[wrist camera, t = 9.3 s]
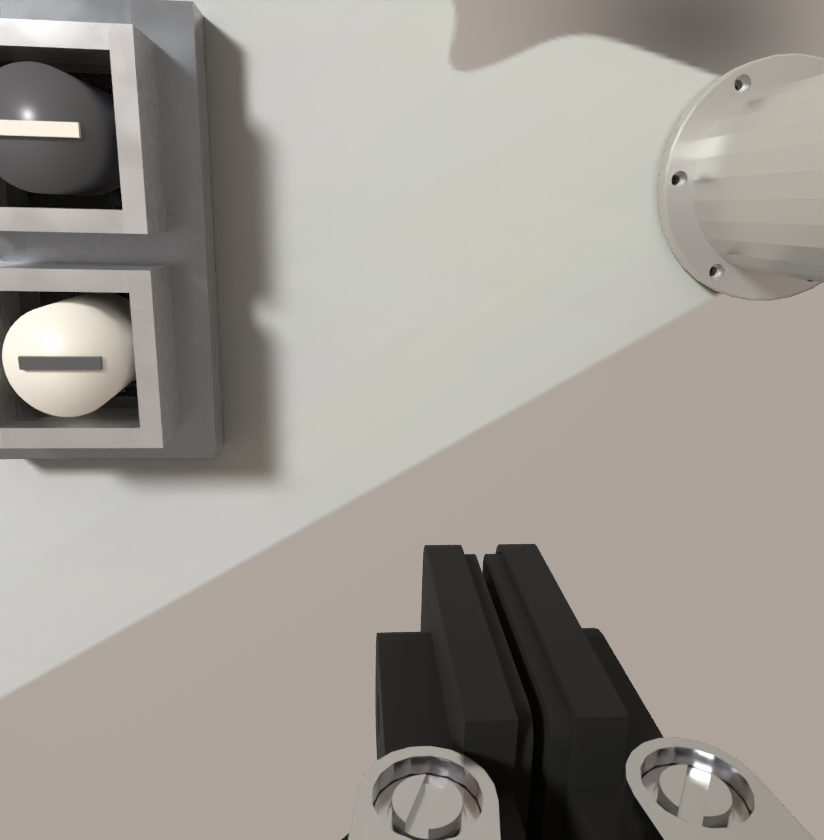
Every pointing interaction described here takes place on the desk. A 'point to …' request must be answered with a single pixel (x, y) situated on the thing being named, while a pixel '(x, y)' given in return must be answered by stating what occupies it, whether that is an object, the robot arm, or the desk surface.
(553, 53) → the desk surface
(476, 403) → the desk surface
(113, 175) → the knob black
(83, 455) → the mount
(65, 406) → the knob ivory
